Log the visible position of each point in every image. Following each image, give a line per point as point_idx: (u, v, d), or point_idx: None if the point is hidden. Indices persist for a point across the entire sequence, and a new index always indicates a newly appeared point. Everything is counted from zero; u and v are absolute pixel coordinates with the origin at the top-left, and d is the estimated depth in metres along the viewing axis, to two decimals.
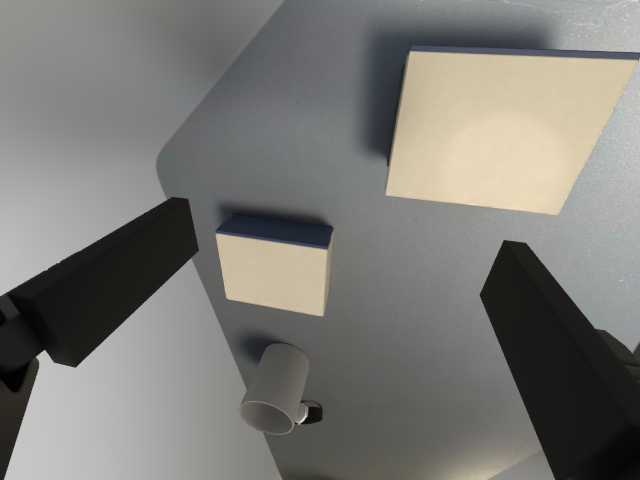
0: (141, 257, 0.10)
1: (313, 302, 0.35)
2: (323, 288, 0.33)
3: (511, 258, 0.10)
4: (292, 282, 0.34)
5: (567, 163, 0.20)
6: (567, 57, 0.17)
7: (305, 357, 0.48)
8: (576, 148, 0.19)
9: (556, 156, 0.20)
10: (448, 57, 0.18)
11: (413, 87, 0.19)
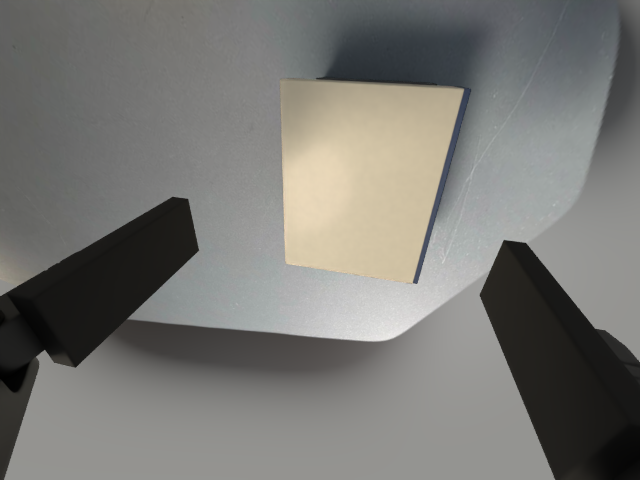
0: (141, 257, 0.10)
1: None
2: None
3: (511, 257, 0.10)
4: None
5: (333, 260, 0.22)
6: (424, 240, 0.19)
7: None
8: (346, 263, 0.22)
9: (338, 251, 0.21)
10: (446, 138, 0.16)
11: (420, 100, 0.15)
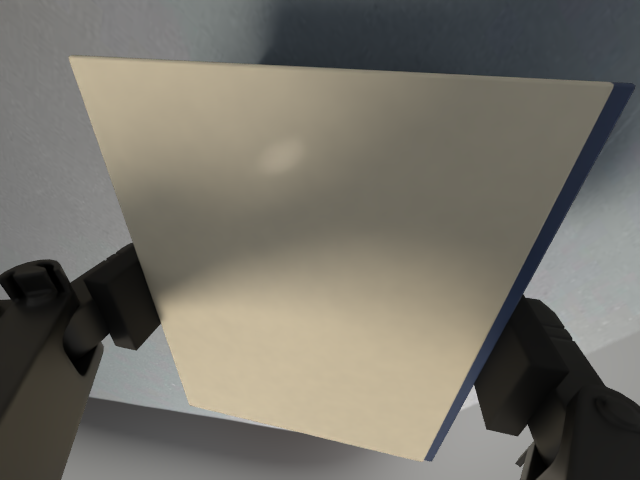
0: None
1: None
2: None
3: None
4: None
5: (271, 412, 0.11)
6: (450, 408, 0.09)
7: None
8: (296, 419, 0.11)
9: (280, 402, 0.11)
10: (530, 222, 0.06)
11: (463, 119, 0.05)
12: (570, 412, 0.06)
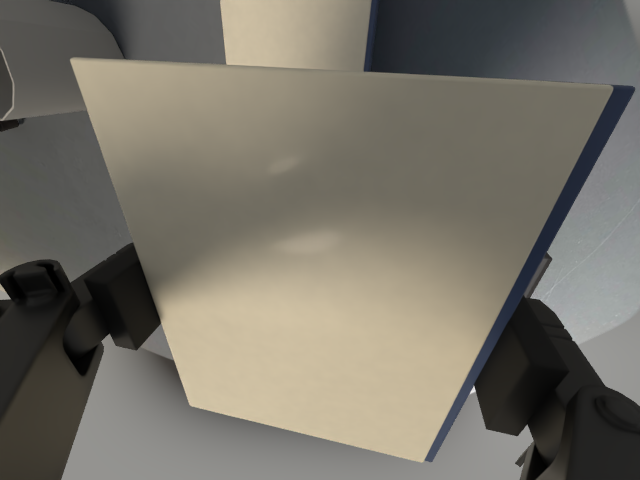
0: None
1: None
2: None
3: None
4: None
5: (272, 413, 0.11)
6: (449, 409, 0.09)
7: None
8: (296, 420, 0.11)
9: (280, 403, 0.11)
10: (530, 224, 0.06)
11: (464, 121, 0.05)
12: (569, 412, 0.06)
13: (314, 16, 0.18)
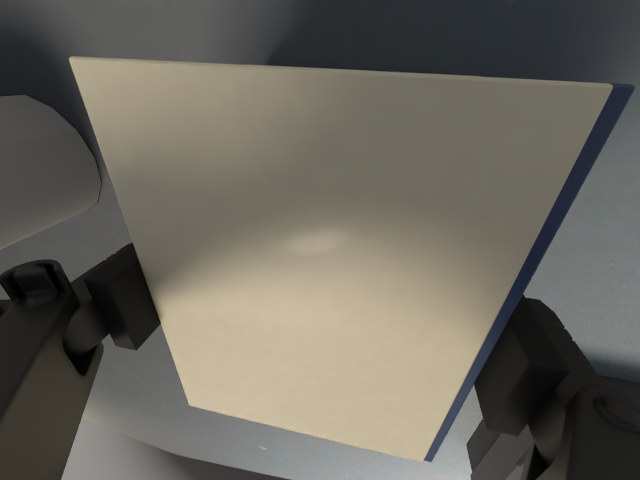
0: None
1: None
2: None
3: None
4: None
5: (271, 412, 0.11)
6: (449, 408, 0.09)
7: (86, 208, 0.22)
8: (296, 420, 0.11)
9: (279, 403, 0.11)
10: (529, 223, 0.06)
11: (463, 120, 0.05)
12: (570, 412, 0.06)
13: None
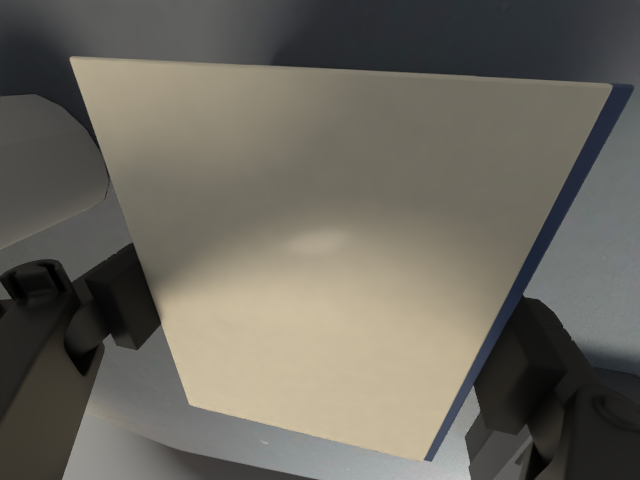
0: None
1: None
2: None
3: None
4: None
5: (271, 412, 0.11)
6: (449, 408, 0.09)
7: (94, 205, 0.22)
8: (296, 419, 0.11)
9: (280, 403, 0.11)
10: (529, 223, 0.06)
11: (463, 120, 0.05)
12: (568, 411, 0.06)
13: None
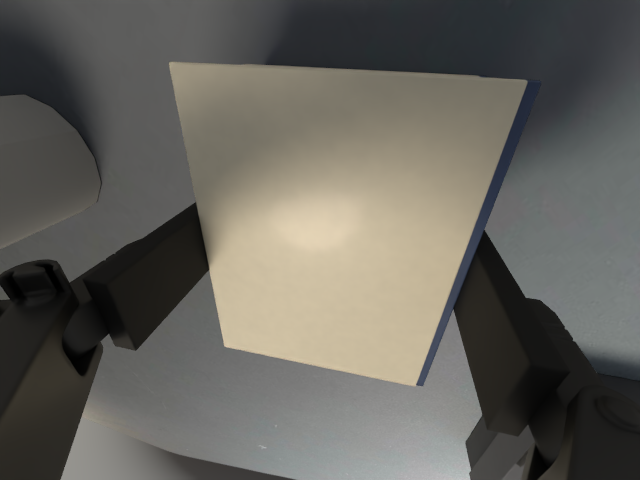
0: (187, 249, 0.11)
1: None
2: None
3: None
4: None
5: (293, 348, 0.14)
6: (435, 333, 0.12)
7: (86, 207, 0.22)
8: (313, 353, 0.14)
9: (301, 338, 0.14)
10: (484, 175, 0.08)
11: (436, 104, 0.08)
12: (571, 412, 0.06)
13: None
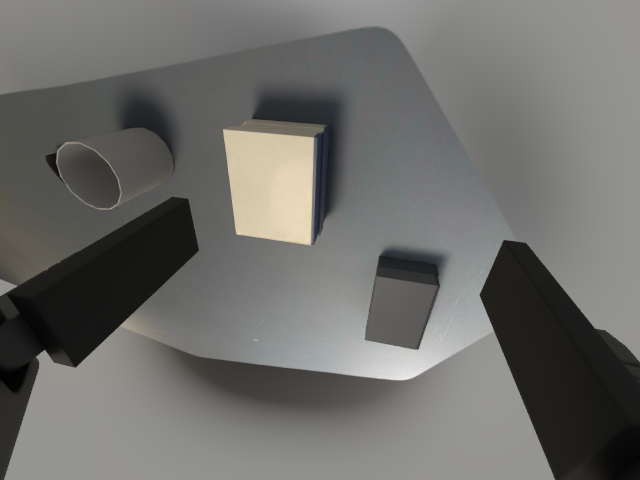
0: (141, 257, 0.10)
1: None
2: None
3: (511, 258, 0.10)
4: None
5: (263, 231, 0.36)
6: (311, 218, 0.34)
7: (165, 181, 0.44)
8: (271, 232, 0.36)
9: (266, 225, 0.36)
10: (310, 161, 0.30)
11: (294, 142, 0.30)
12: None
13: None
